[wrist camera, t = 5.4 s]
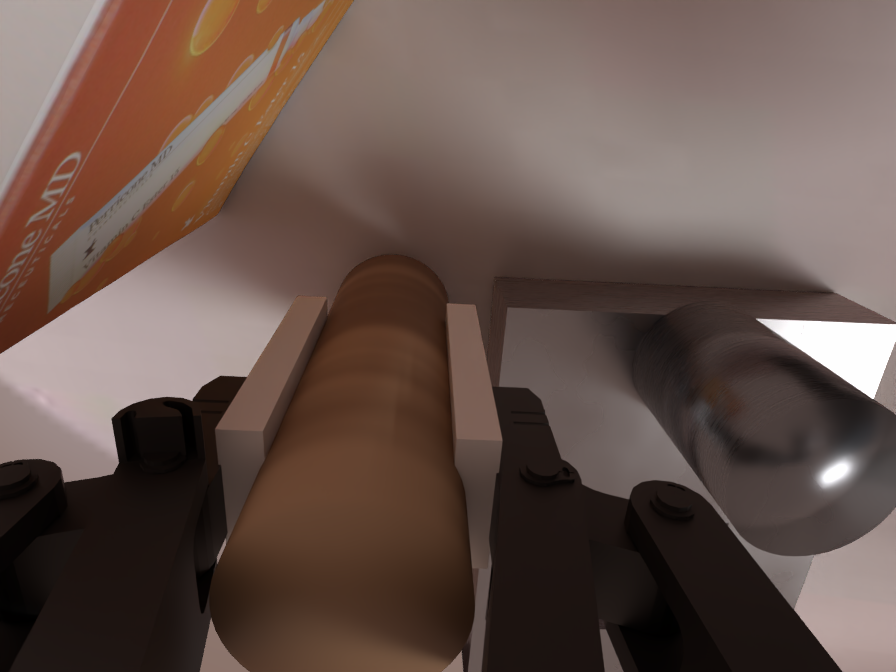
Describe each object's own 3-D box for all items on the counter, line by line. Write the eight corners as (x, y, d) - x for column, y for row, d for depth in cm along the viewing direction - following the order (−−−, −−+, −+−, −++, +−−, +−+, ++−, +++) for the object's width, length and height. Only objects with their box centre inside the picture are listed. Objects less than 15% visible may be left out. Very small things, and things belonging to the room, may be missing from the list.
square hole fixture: (496, 262, 20) (554, 389, 12) (841, 279, 21) (1126, 408, 12) (459, 630, 26) (481, 883, 18) (726, 632, 27) (864, 874, 19)
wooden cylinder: (337, 249, 18) (200, 495, 7) (454, 259, 19) (490, 512, 8) (335, 355, 20) (216, 697, 9) (443, 364, 20) (461, 706, 9)
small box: (219, 219, 19) (-121, 451, 7) (22, 83, 17) (-892, 79, 5) (369, -11, 17) (253, -260, 5) (160, -194, 15) (-874, -1328, 3)
